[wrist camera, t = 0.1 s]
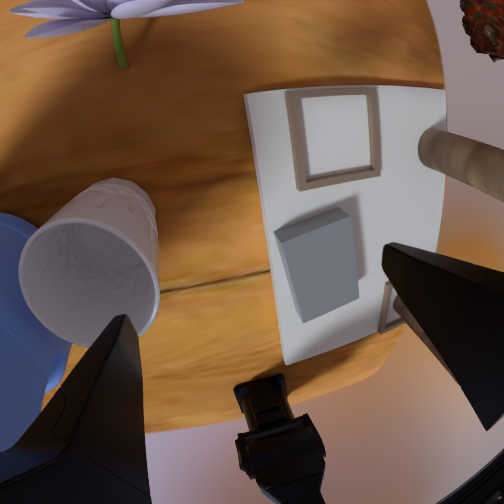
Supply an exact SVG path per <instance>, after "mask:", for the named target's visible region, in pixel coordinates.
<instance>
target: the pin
mask: <svg viewBox="0 0 504 504" xmlns="http://www.w3.org/2000/svg"><path fill="white" fill-rule="evenodd" d="M418 156H419V159H420V161H421V163H422V164H423V165H424V166H426V167H428V168H431V169H433V170H436V171H438V172H440V173H443V174H445V175H448V176H450V177H452V178H455V179H457V180H459V181H461V182H463V183H466V184H468V185H470V186H472V187H474V188H476V189H478V190H480V191H482V192H485V193H487V194H489V195H491V196H492V197H495V198H497V199H498V200H500V201H502V202H504V150H502V149H500V148H497V147H494V146H491V145H488V144H485V143H482V142H479V141H476V140H472V139H470V138H466V137H463V136H459V135H456V134H453V133H449V132H445V131H441V130H437V129H433V128H429V129H427V130H425V131H424V132H423V134H422V135H421V137H420V139H419V143H418Z"/></svg>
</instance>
